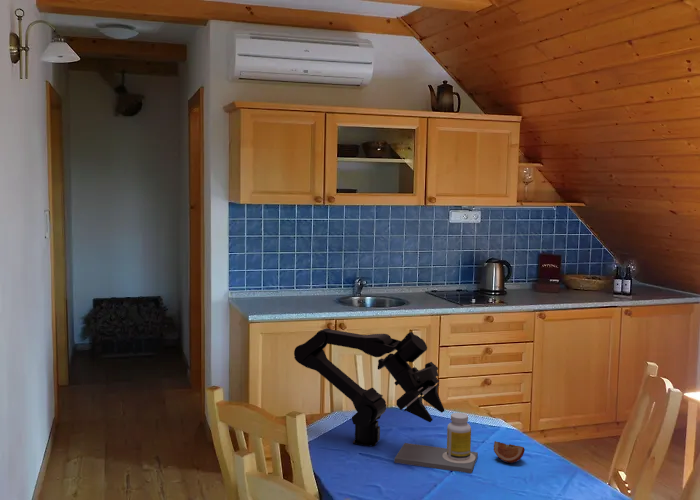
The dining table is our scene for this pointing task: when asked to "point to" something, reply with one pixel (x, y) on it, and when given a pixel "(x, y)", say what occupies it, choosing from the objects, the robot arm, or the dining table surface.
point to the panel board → (433, 458)
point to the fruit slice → (508, 452)
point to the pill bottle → (459, 437)
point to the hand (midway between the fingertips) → (437, 416)
